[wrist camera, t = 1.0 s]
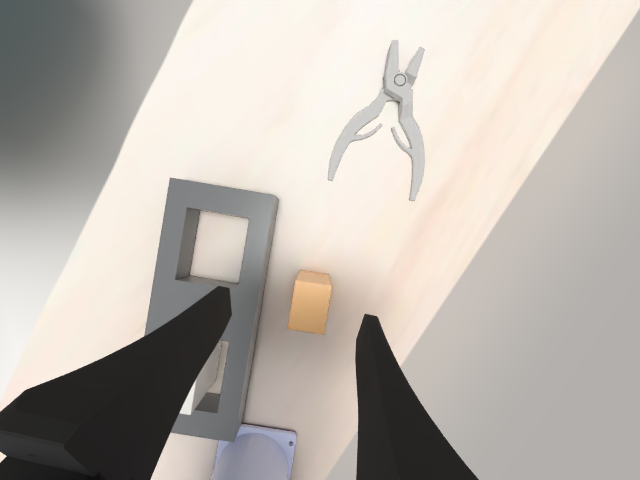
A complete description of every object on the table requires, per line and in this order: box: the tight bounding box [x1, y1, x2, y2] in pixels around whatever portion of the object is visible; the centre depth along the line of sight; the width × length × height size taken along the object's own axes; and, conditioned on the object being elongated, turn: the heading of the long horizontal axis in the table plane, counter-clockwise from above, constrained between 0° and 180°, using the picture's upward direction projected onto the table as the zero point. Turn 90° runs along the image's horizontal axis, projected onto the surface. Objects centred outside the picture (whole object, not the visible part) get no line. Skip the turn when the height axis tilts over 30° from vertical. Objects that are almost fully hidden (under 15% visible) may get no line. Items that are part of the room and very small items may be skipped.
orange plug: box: [287, 270, 332, 335], centre depth 22 cm, size 4×3×6 cm
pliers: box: [328, 40, 425, 201], centre depth 24 cm, size 10×2×15 cm
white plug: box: [180, 342, 222, 415], centre depth 22 cm, size 4×3×5 cm
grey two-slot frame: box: [145, 178, 279, 442], centre depth 23 cm, size 24×10×2 cm, turn 171°
